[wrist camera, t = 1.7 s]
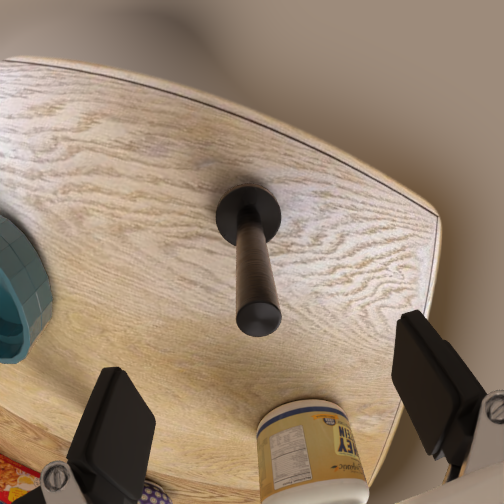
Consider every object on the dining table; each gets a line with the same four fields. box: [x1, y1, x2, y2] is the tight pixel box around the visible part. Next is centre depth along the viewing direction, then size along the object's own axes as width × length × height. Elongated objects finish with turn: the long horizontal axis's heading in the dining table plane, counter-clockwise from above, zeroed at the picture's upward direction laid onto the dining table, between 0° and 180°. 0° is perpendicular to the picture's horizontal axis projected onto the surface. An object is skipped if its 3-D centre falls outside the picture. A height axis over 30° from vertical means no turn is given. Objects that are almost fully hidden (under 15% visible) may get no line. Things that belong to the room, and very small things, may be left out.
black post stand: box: [216, 183, 282, 337], centre depth 18 cm, size 5×5×14 cm
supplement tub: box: [256, 399, 369, 504], centre depth 29 cm, size 12×12×17 cm
